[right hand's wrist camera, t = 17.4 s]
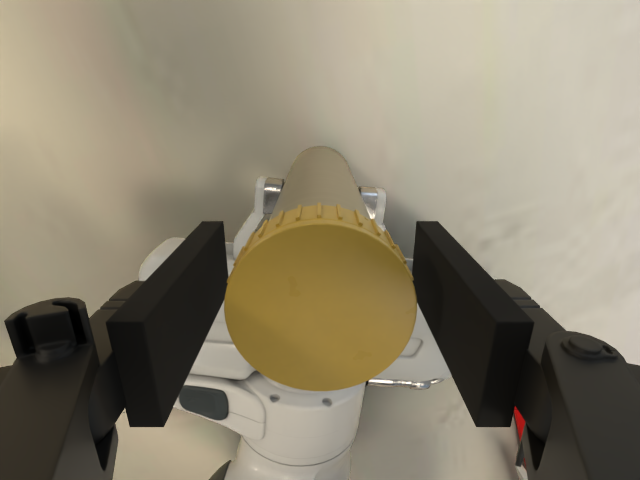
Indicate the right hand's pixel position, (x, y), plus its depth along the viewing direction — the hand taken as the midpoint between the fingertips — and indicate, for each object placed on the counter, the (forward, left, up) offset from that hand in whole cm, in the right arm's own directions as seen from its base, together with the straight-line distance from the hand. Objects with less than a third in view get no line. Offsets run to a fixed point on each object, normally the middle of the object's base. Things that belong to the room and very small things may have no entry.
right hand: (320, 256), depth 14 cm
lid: (0, 0, +4) cm, 4 cm away
